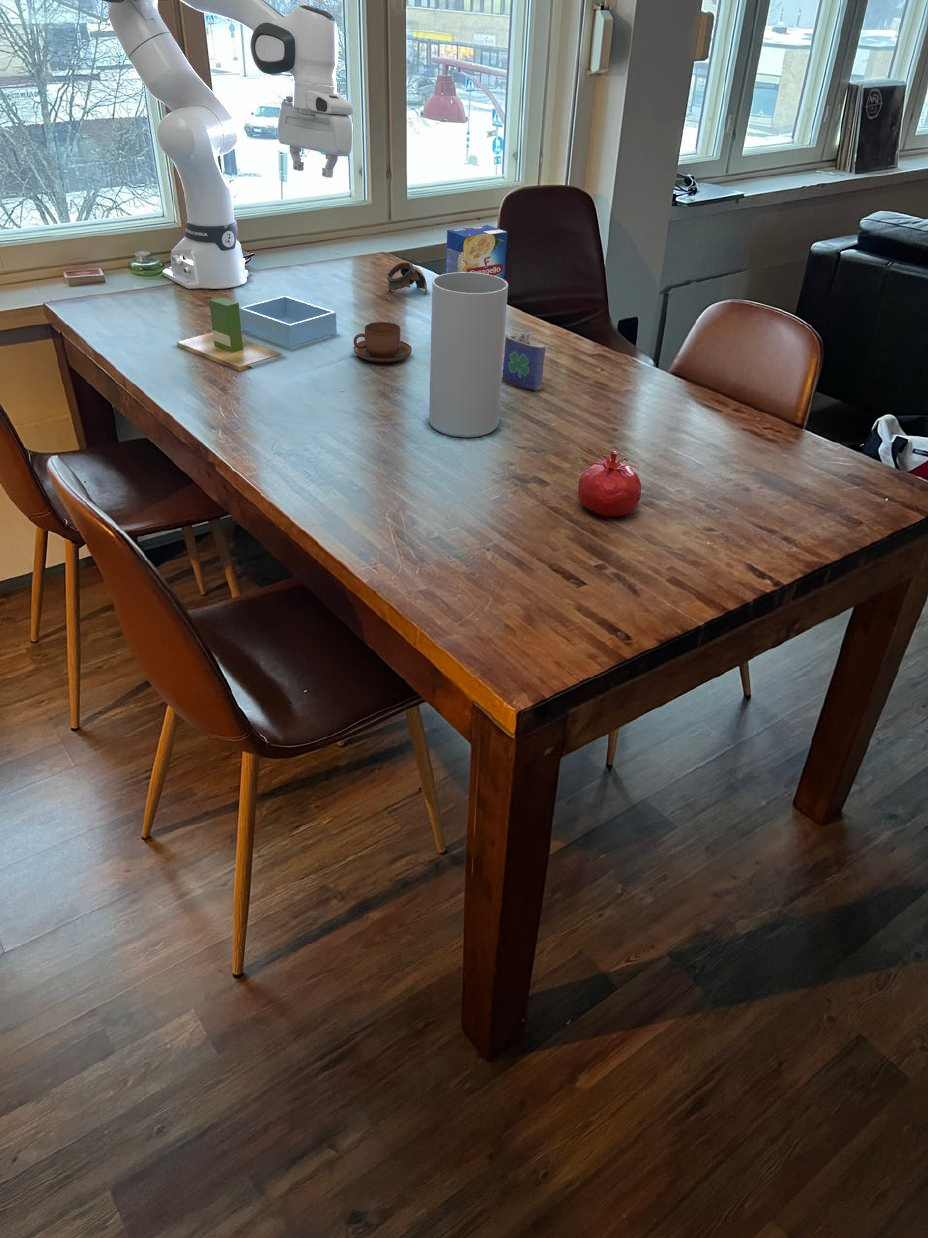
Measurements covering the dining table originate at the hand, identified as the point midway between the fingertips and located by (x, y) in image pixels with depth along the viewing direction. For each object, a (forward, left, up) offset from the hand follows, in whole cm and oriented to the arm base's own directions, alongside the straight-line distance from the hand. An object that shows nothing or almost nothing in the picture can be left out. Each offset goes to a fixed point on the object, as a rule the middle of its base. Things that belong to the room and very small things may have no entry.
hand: (312, 173), depth 199 cm
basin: (+6, -15, -30) cm, 34 cm away
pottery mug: (+2, +28, -30) cm, 41 cm away
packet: (+6, -32, -29) cm, 43 cm away
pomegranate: (+100, -35, -30) cm, 110 cm away
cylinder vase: (+64, -26, -30) cm, 76 cm away
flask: (+60, -3, -30) cm, 67 cm away
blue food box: (+34, +14, -30) cm, 48 cm away
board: (+6, -32, -30) cm, 44 cm away
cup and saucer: (+30, -11, -30) cm, 44 cm away
